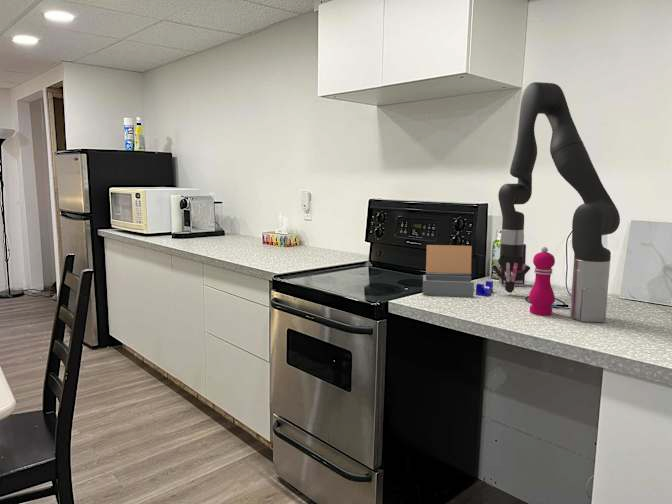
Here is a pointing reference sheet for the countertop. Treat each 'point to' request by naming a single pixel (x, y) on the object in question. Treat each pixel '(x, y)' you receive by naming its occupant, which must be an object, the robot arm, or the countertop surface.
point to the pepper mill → (542, 284)
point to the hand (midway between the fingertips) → (509, 292)
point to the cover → (448, 260)
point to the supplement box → (520, 282)
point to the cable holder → (484, 288)
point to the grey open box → (448, 285)
